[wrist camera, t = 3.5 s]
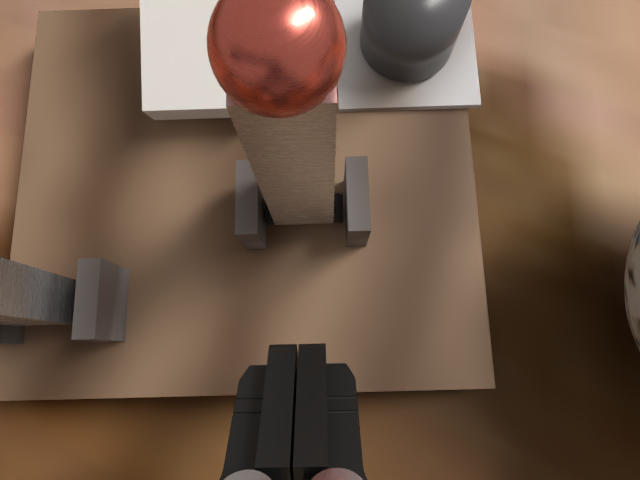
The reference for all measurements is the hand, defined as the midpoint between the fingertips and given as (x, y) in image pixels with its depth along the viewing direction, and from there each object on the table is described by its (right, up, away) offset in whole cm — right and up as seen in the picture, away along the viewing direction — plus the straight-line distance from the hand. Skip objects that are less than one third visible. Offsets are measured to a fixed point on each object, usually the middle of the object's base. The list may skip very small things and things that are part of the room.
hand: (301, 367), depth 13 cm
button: (+4, +12, +8) cm, 15 cm away
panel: (-3, +5, +9) cm, 11 cm away
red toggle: (0, +5, +6) cm, 8 cm away
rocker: (-4, +12, +8) cm, 15 cm away
